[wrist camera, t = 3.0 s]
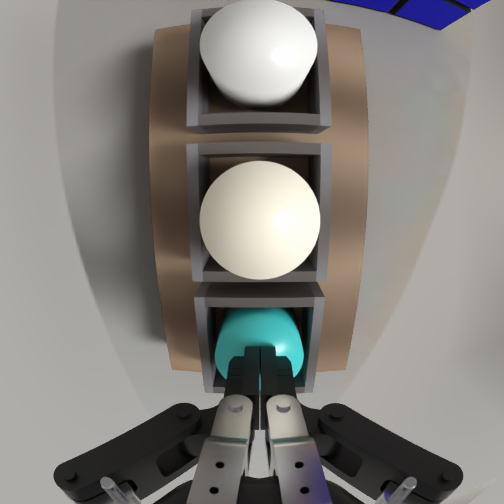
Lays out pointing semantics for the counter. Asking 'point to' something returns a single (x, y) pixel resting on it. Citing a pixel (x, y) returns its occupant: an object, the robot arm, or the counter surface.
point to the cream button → (259, 220)
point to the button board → (246, 150)
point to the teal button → (258, 335)
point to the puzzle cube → (423, 9)
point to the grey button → (258, 52)
